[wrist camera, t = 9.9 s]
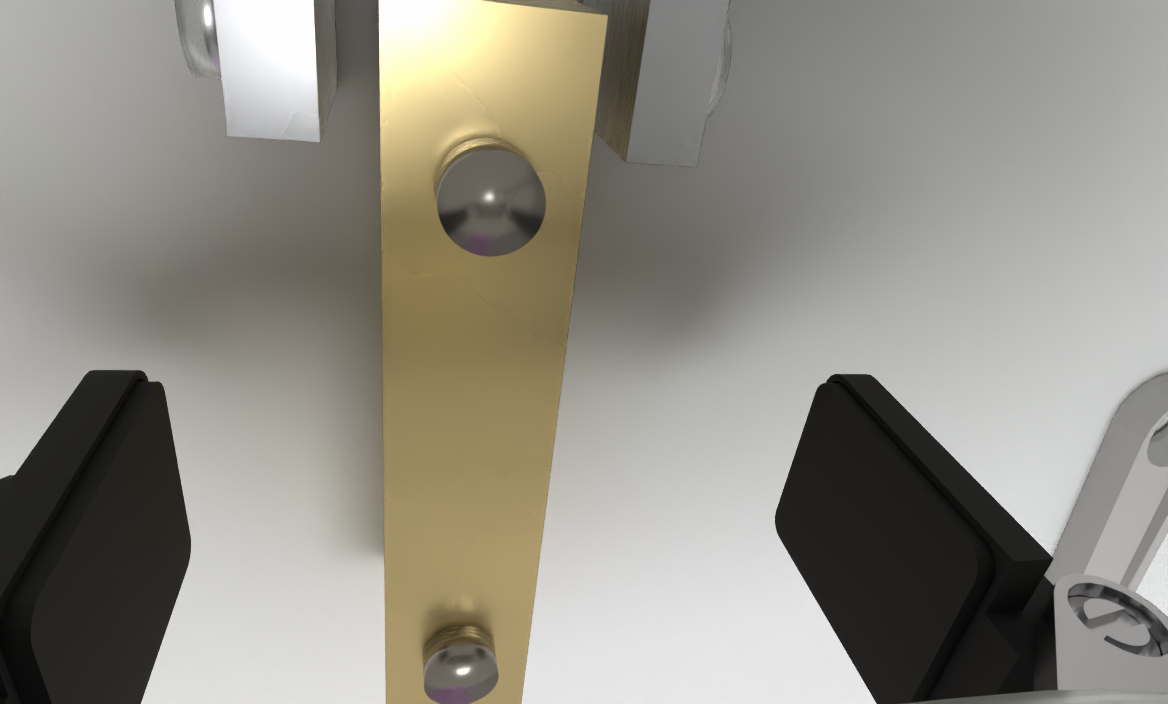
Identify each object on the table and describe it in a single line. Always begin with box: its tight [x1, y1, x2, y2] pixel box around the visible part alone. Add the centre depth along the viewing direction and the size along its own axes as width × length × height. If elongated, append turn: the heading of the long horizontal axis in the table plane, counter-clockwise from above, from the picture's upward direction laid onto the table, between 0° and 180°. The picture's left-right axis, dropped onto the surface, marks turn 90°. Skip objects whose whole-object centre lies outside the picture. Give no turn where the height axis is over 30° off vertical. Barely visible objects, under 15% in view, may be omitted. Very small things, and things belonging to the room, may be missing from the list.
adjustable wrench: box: [1045, 373, 1168, 592], centre depth 26 cm, size 25×6×2 cm, turn 174°
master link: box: [379, 0, 608, 704], centre depth 12 cm, size 2×12×5 cm, turn 172°
